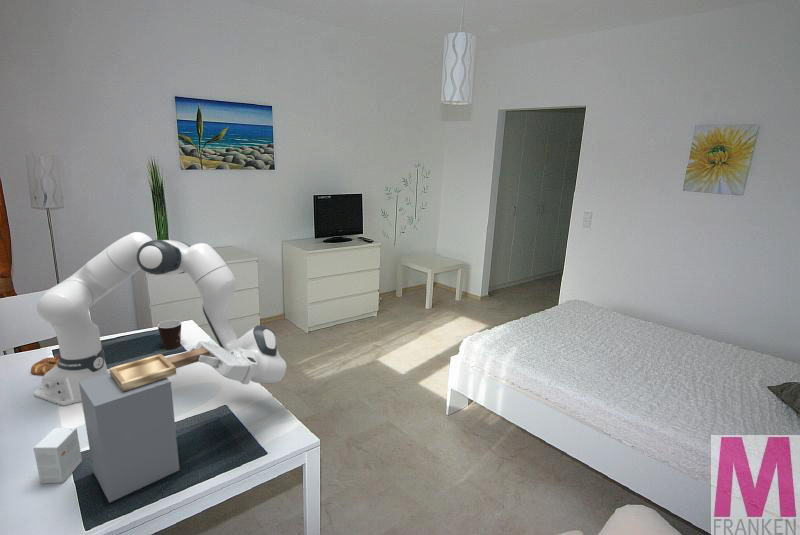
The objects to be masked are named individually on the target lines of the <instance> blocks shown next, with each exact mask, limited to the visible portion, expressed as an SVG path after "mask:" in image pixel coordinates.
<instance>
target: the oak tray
mask: <svg viewBox="0 0 800 535" xmlns="http://www.w3.org/2000/svg"><path fill="white" fill-rule="evenodd" d="M199 354H202V355H206V356H209V357H210V351H208V350H207V349H206V348H205V347H202V348H199V349H195V350H192V351H190V350H189V351H185V352H181V353H179V354H175V355H171V356H168V357H165V356H164V355H163V354H162V353H159V354H156V355H152V356H148V357H144V358H140V359H138V360H133V361H130V362H127V363H123V364H119V365H116V366H113V367H110V368H109V367H108V368H109V373H110V376H111V377H112V378H113V379H114V381H115V382H116V383H117V385H118V386H119V387H120V388H121V390H122V391H126V390H130V389H133V388H136V387H139V386H142V385H145V384H148V383H152V382H155V381H158V380H161V379H164V378H170V377H173V376H176V375H177V369H179V368H181V367H185V366H189V365H192V364H195V363H198V362H199V361H198V360H197V357H198V355H199ZM199 363H200V362H199Z"/></svg>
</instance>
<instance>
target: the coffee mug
mask: <svg viewBox="0 0 800 535" xmlns="http://www.w3.org/2000/svg"><path fill="white" fill-rule="evenodd" d="M157 328H158V333H159V337H160V341H161V345H162V349H163V350H166V351H172V350H177V349H178V348H180V347H181V342H182V341H181V335H182V321H181V320H177V319H169V320H164V321H163V320H162V321H161V322H159V323H158V324H157Z"/></svg>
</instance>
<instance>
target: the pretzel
mask: <svg viewBox="0 0 800 535" xmlns="http://www.w3.org/2000/svg"><path fill="white" fill-rule="evenodd" d="M54 357H55V358H57V357H56V356H54ZM54 357H52V356H51V357H45V358H42V359H41V360H39V361H37V362H35V363H33V364H32V366H31V367H30V368H31V369H30V372H31V374H33V375H34V376H35V375H36V376H42V377H43V376H44V375H45V374H46V373H47V372H48V371H49V370H51V369H52V368H53V367H55V366H56V365H57V363H58V359H57V360H54V359H55V358H54Z"/></svg>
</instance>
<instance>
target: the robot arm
mask: <svg viewBox="0 0 800 535" xmlns="http://www.w3.org/2000/svg"><path fill="white" fill-rule="evenodd" d="M140 270H142V271H144V272H146V273H148V274H150V275H155V276H159V275H160V276H162V275H163V276H171V275H172V276H173V275H179V274H181V275H182V274H185V273H186V274H187V275H188V276H189V277H190V278H191V280H192V281H193V283H194V284H195V286H196V288H197V289H198V291H199V293H200V297H201V300H202V311H203V314H204V317H205V318H206V321H207V323H208V325H209V327H210V329H211V331H212V333H213V335H214V337H215V339H216V341H217V345H216V344H214V343H210V342H207V341H203V340H200V341H198V342H197V344H196V345H195V347H191V348H190V350H189V351H192V350H195V349H199V348H202V347H205V348H206V349H207V350H208V351H210V357H209V356H206V355H202V354H199V355H198V357H197V360H198V361H199V363H203V364H205V365H207V366H208V365H209V366H210V367H212V368H213V369H215V371H217V373H219V374H220V375H222V377H224V378H227V379H228V380H232V381H236V382H239V383H241V384H242V385H249V384H250V382H252V383H258V384H265V385H272V384H277V383H278V382H280V381H281V380H282V378H284V376H285V374H286V372H287V362H286V361H285V359H283V358H282V356H281V355H280V352H279V350H278V340H277V336H276V333H275V332H274V331H273V330H272V329H271V328H269V327H267V326H266V325H262V324H258V325H256V326H254V327H253V328H251V329H249V330H248V331H247V332H245V333H244V334H243V335H242V336H240V337H239V338H238V336H237V334H236V333H235V331H234V329H233V327H232V325H231V322H230V321H229V318H228V313H227V312H228V307H229V305H230V302H231V300H232V298H233V297H234V294H235V291H236V288H237V281H236V280H237V279H236V278H235V275H234V274H233V272H232V271H231V269H230V267H229V266H228V265H227V263H226V262H225V261H224V260H223V258H222V257H221V256H220V254H219V253H218V252H217V251H216V250H215V249H214V248H213V247H212V246H211V245H209V244H207V243H204V242H199V243H195V244H193V245H190V244H188V243H186V242H184V241H178V240H174V239H173V240H172V239H152V238H151V237H150V236H149V235H148V234H146V233H145V232H140V231H134V232H131V233H129V234H127V235H125V236H123V237H120V238H118V240H116V241H114V242H113V243H111V244H109V245H108V246H107V247H105V249H104V250H102V251H100V253H98V254H97V255H95V256H94V257H93V258H91V259H90V260H89V261H87V262H86V263H85V264H84V265H82V267H80V268H79V269H78V270H77V271H75V272H74V273H73V274H72V275H70V276H69V277H68V278H67V277H66V279H64V280H63V281H60V282H59V283H58V284H56V285H54V286H53V287H51V288H49V289H48V290H46V291H45V292H44V293H43V294H42V296H41V297H40V299H39V300H38V302H37V305H36V311H37V313H38V315H39V317H41V319H43V320H44V321H45V322H48V323H50V324H51V326H52V328H53V330H54V332H55V335H56V338H57V343H58V347H59V354H57V355H56V356H54V357H53V358H55V357H57V358H55V359H54V360H57V359H58V363H57V365H56V366H55V367H53V368H52V369H51V370H49V371H48V372H47V373H46V374H45V375H44V376H42V377H41V378H42V379H41V386H39V387H37V388H36V389H35V390H34V392H33V396H35V397H37V398H40V399H43V400H45V401H48V402H51V403H54V404H56V403H57V404H56V405H59V406H68V405H72V404H75V403H79V402H80V403H81V402H82V399H81V393H80V386H79V382H80V381H84V380H87V379H91V378H94V377H98V376H101V375H105V374H108V373H109V371H108V367H107V363H106V360H105V351H104V347H102V341H101V334H100V328H99V326H98V325H97V324H95V323H94V322H93V320H92V319H91V316H90V313H89V311H90V308H91V307H92V306H93V305H94V304H96V303H97V302H98V301H99V300H101V299H102V298H103V297H105V296H106V295H108V294H109V293H111V292H112V291H113V290H114V289H116V288H117V287H118V286H120V285H121V284H123V282H125V281H127V280H128V279H129V278H131V276H133V275H135V273H137V272H138V271H140Z"/></svg>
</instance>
